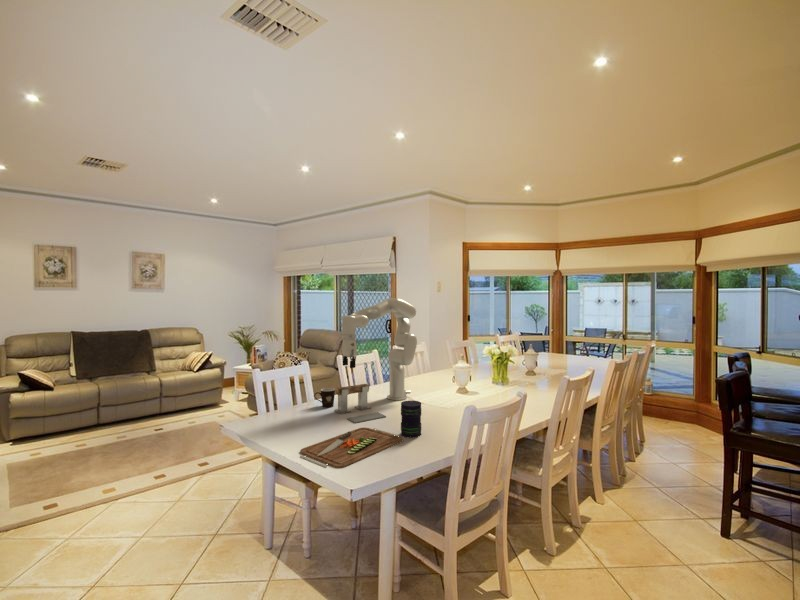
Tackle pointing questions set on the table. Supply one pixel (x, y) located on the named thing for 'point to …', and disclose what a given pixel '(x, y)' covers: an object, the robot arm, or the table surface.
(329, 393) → the coffee mug
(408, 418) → the storage jar
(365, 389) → the post far
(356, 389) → the bread baguette
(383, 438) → the chopping board
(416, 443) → the table surface
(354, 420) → the mat
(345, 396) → the post near
